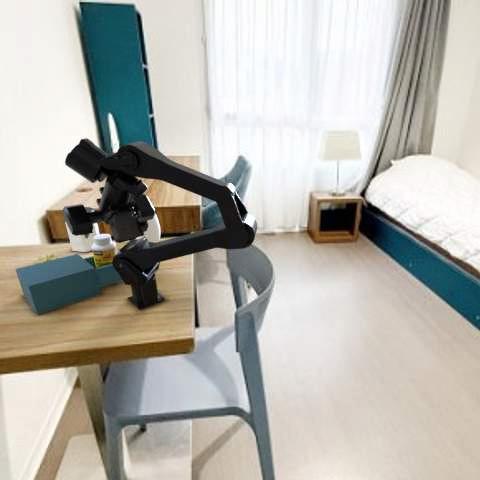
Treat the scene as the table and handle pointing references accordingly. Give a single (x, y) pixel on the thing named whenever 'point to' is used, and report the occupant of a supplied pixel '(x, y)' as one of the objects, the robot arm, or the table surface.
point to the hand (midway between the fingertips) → (105, 232)
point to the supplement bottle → (103, 250)
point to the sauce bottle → (152, 230)
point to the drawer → (104, 273)
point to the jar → (83, 237)
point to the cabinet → (58, 283)
